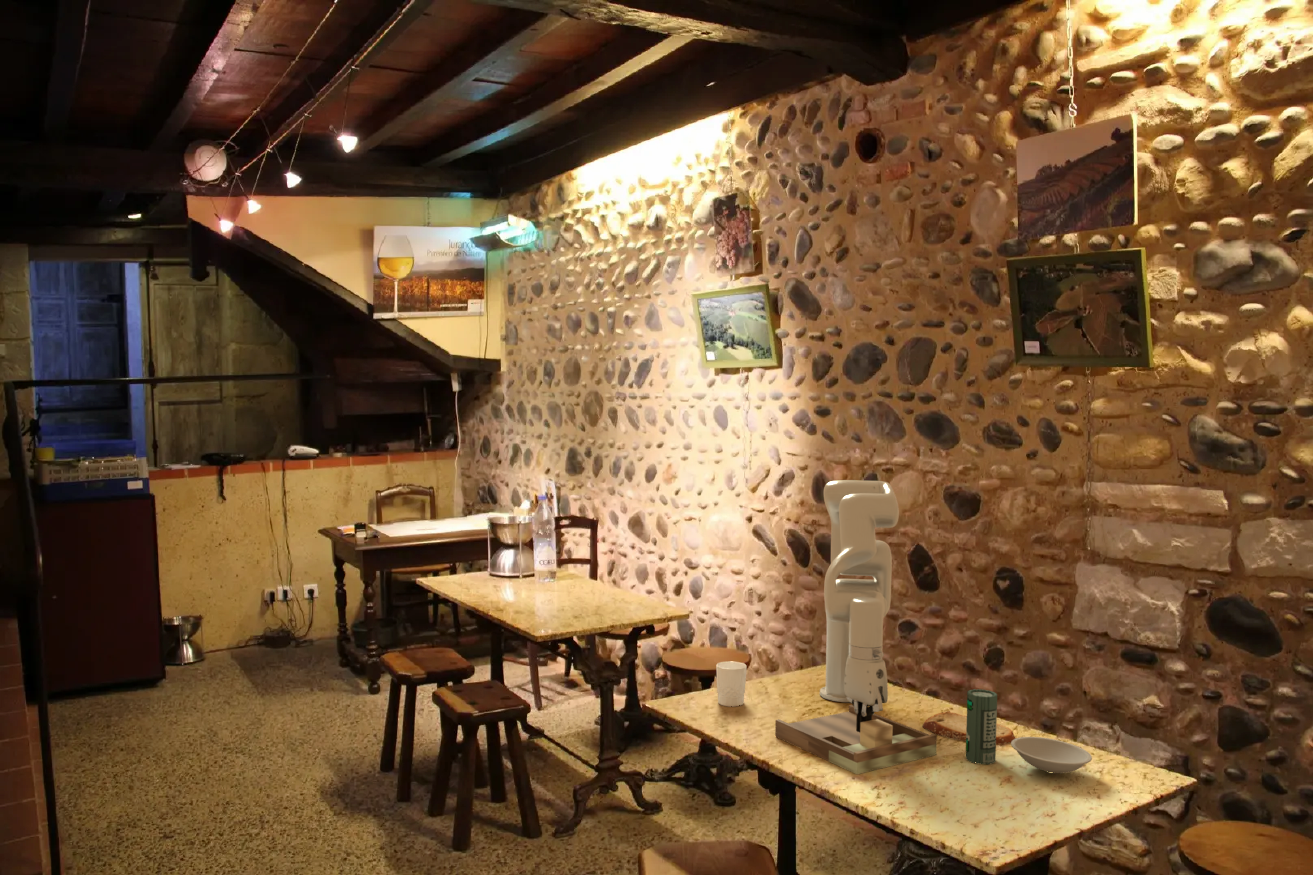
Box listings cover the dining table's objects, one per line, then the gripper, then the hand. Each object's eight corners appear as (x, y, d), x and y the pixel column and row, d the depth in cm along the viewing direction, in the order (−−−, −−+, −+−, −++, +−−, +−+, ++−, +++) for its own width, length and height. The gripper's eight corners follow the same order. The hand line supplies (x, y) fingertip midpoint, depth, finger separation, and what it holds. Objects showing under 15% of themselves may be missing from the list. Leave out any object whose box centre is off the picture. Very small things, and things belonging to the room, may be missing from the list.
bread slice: (1022, 743, 246) (1022, 727, 246) (953, 749, 242) (953, 733, 242) (980, 720, 263) (981, 705, 263) (915, 724, 259) (916, 709, 259)
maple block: (877, 740, 238) (877, 719, 238) (892, 747, 234) (892, 725, 234) (860, 744, 236) (860, 722, 235) (874, 750, 231) (875, 728, 231)
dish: (994, 764, 231) (995, 742, 231) (1039, 754, 238) (1040, 732, 238) (1061, 791, 215) (1061, 768, 215) (1107, 779, 223) (1107, 756, 222)
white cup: (710, 700, 276) (711, 663, 276) (736, 697, 279) (737, 660, 279) (724, 708, 269) (725, 670, 268) (751, 705, 272) (752, 667, 272)
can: (979, 752, 238) (981, 687, 237) (1000, 761, 233) (1002, 694, 232) (960, 757, 235) (962, 691, 234) (981, 766, 230) (983, 698, 229)
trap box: (851, 720, 260) (851, 702, 260) (936, 754, 237) (936, 735, 236) (775, 736, 248) (775, 717, 248) (856, 774, 224) (857, 753, 224)
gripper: (901, 657, 234) (899, 738, 235) (855, 643, 247) (853, 719, 247) (876, 661, 230) (874, 743, 231) (831, 646, 243) (829, 724, 243)
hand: (863, 731), depth 239 cm, fingers closed
